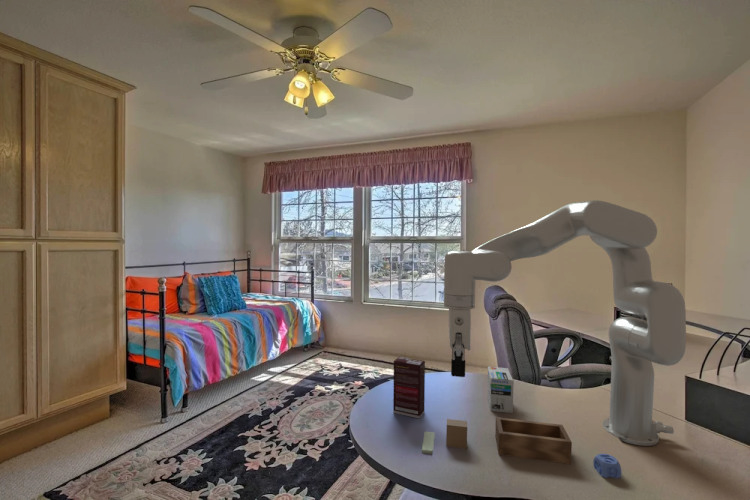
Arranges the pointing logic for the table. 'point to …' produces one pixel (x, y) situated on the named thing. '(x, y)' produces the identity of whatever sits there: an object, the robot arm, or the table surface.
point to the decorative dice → (607, 466)
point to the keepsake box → (533, 440)
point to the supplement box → (409, 387)
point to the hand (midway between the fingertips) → (458, 368)
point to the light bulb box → (500, 389)
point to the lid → (448, 436)
